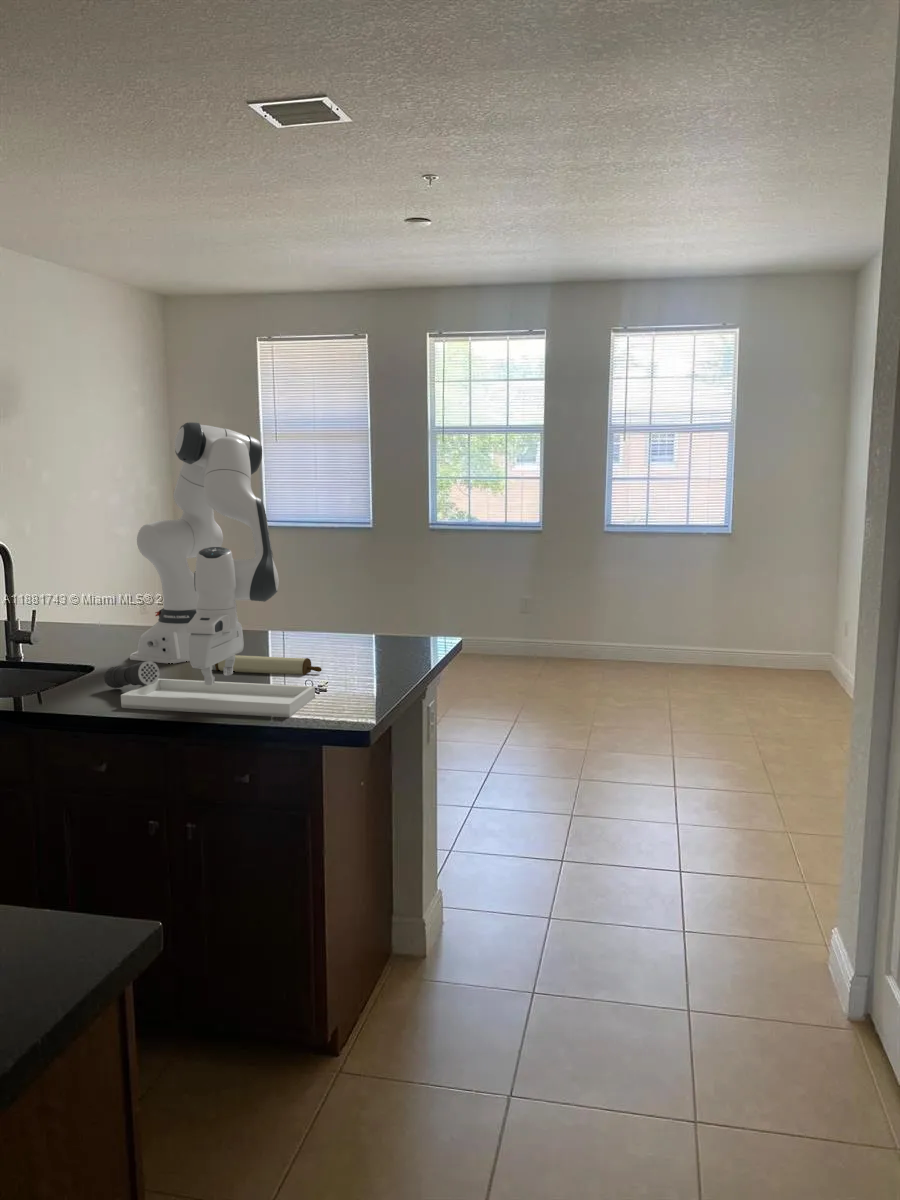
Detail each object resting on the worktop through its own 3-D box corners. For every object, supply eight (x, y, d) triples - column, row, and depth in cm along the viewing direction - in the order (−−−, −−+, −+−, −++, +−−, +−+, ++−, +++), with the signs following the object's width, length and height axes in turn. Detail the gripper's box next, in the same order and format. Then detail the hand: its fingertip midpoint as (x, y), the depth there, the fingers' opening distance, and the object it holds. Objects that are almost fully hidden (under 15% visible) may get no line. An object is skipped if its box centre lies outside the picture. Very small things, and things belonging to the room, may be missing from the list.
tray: (121, 707, 196) (120, 694, 196) (158, 690, 212) (157, 678, 211) (289, 717, 188) (289, 704, 188) (315, 698, 204) (314, 686, 204)
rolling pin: (202, 674, 230) (201, 655, 229) (212, 669, 236) (211, 651, 235) (317, 680, 223) (317, 661, 223) (325, 675, 229) (325, 656, 228)
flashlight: (97, 678, 210) (111, 661, 213) (113, 693, 212) (126, 676, 216) (135, 673, 200) (148, 656, 204) (150, 689, 203) (163, 671, 207)
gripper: (224, 612, 208) (226, 668, 210) (182, 626, 188) (185, 689, 190) (249, 613, 207) (251, 670, 209) (209, 628, 187) (212, 690, 189)
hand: (219, 679), depth 199 cm, fingers open, 8 cm apart
